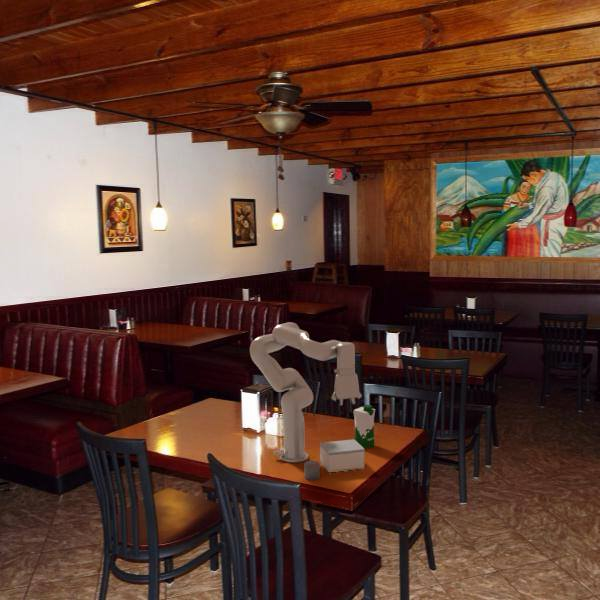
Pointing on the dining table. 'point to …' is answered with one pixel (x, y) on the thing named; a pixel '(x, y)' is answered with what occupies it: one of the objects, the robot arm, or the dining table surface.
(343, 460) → the box
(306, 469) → the gray cube
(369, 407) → the milk carton
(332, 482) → the dining table surface
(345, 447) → the lid
